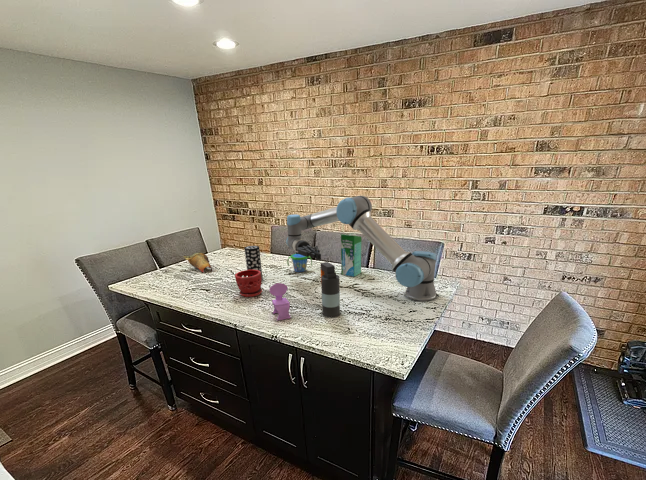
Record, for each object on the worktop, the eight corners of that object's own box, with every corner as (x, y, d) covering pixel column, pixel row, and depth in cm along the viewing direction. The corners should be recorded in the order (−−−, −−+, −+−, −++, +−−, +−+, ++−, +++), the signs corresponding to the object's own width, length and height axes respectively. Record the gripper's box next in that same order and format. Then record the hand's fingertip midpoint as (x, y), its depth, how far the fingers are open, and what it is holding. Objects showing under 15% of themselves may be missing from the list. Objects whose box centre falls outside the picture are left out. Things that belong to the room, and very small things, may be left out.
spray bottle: (317, 310, 159) (315, 263, 150) (332, 306, 162) (331, 260, 153) (327, 319, 150) (325, 269, 141) (343, 315, 154) (342, 266, 145)
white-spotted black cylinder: (245, 282, 197) (241, 248, 189) (253, 277, 204) (250, 245, 196) (257, 283, 194) (253, 249, 186) (265, 279, 201) (262, 246, 194)
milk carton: (361, 272, 210) (361, 232, 200) (354, 276, 203) (354, 235, 193) (348, 270, 214) (348, 231, 204) (341, 274, 207) (340, 233, 197)
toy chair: (275, 321, 149) (272, 289, 143) (270, 313, 156) (267, 283, 150) (293, 318, 152) (291, 286, 146) (287, 310, 159) (285, 280, 153)
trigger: (320, 283, 155) (320, 269, 153) (326, 282, 156) (326, 268, 154) (322, 284, 154) (321, 270, 151) (328, 283, 155) (327, 269, 152)
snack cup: (313, 268, 220) (312, 253, 216) (311, 273, 210) (310, 257, 206) (289, 268, 221) (288, 253, 217) (286, 273, 211) (285, 257, 207)
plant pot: (254, 288, 188) (252, 267, 183) (267, 294, 179) (265, 272, 174) (233, 294, 179) (230, 273, 175) (246, 301, 171) (243, 278, 166)
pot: (195, 261, 206) (184, 247, 216) (190, 277, 210) (179, 263, 220) (221, 264, 219) (209, 251, 229) (216, 279, 223) (204, 265, 233)
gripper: (312, 251, 188) (331, 262, 168) (290, 255, 182) (307, 266, 163) (312, 238, 185) (331, 247, 165) (289, 241, 179) (306, 251, 160)
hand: (319, 257), depth 164 cm, fingers closed
